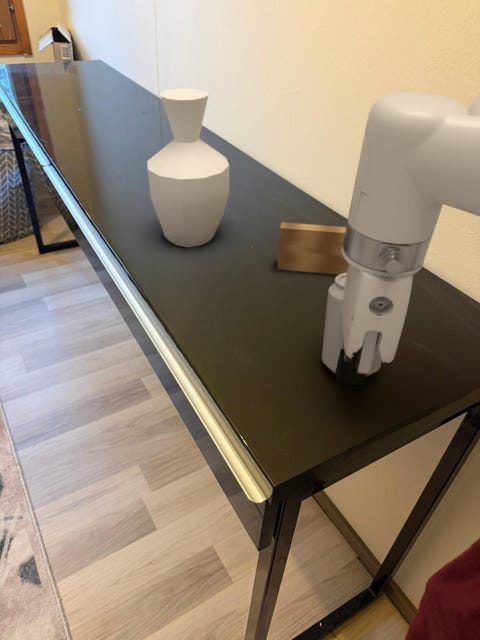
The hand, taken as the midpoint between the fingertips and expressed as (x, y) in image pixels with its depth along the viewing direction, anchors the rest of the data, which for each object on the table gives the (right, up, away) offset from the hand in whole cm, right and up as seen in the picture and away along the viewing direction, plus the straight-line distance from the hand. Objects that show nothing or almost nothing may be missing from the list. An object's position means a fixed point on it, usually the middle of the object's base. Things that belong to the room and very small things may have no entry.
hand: (349, 379), depth 54 cm
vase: (-22, +23, +33) cm, 46 cm away
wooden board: (+2, +16, +25) cm, 29 cm away
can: (+1, +1, +6) cm, 6 cm away
